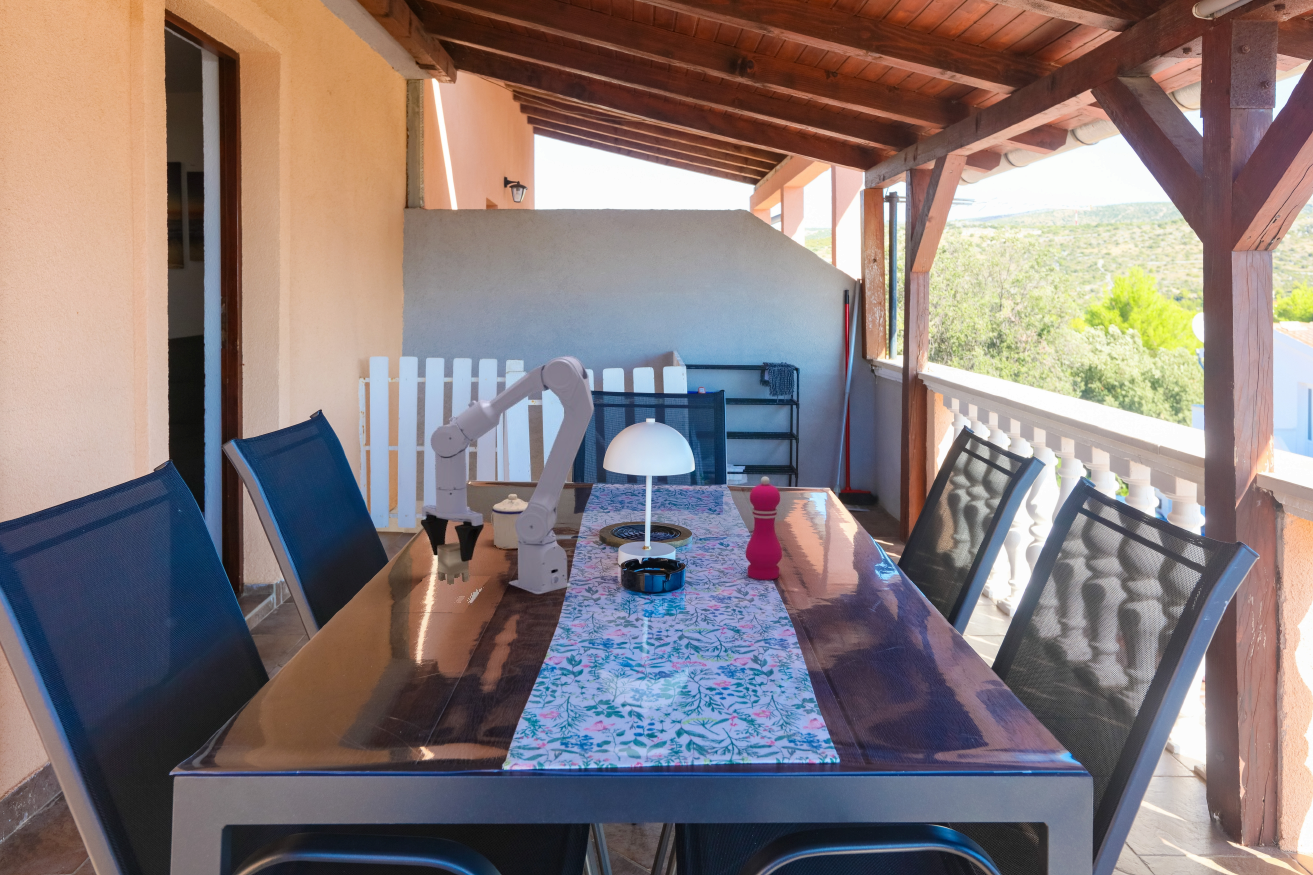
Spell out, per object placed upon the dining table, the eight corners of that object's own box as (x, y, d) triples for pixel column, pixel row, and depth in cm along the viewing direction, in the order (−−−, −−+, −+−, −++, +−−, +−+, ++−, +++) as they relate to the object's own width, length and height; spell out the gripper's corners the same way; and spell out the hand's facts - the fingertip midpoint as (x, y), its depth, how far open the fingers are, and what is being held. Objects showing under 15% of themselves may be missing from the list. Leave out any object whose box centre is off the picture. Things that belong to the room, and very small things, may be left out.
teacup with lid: (542, 545, 200) (541, 494, 198) (510, 552, 193) (509, 500, 191) (508, 536, 208) (507, 487, 206) (476, 543, 201) (475, 493, 199)
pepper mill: (780, 581, 172) (782, 480, 170) (743, 579, 174) (745, 479, 171) (782, 571, 179) (785, 474, 177) (747, 569, 181) (748, 472, 178)
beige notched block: (469, 581, 170) (468, 545, 169) (449, 585, 167) (448, 549, 166) (457, 576, 173) (456, 541, 172) (438, 581, 170) (437, 545, 169)
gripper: (494, 488, 167) (495, 558, 169) (440, 480, 175) (442, 547, 177) (466, 494, 161) (468, 566, 163) (412, 485, 169) (414, 554, 171)
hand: (452, 557), depth 170 cm, fingers open, 7 cm apart
